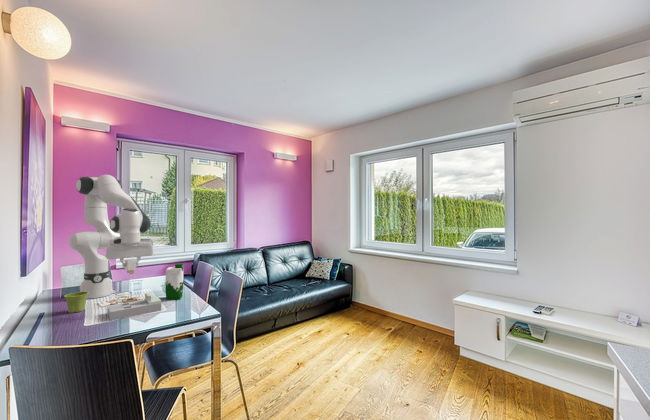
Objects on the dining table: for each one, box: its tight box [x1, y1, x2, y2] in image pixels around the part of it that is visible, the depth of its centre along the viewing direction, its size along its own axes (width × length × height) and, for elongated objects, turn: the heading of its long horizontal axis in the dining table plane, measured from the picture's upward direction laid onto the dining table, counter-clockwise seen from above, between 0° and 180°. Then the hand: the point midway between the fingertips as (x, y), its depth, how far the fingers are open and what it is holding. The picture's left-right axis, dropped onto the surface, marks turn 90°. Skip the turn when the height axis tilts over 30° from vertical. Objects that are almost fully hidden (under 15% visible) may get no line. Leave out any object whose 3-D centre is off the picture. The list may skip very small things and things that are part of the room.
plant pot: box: [63, 291, 89, 314], centre depth 144 cm, size 9×9×9 cm
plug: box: [124, 258, 137, 275], centre depth 147 cm, size 9×4×7 cm, turn 44°
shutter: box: [144, 292, 162, 304], centre depth 148 cm, size 10×6×4 cm, turn 43°
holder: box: [121, 297, 139, 304], centre depth 153 cm, size 12×6×2 cm, turn 43°
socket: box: [106, 299, 162, 322], centre depth 143 cm, size 12×21×4 cm, turn 133°
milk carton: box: [164, 263, 184, 301], centre depth 166 cm, size 9×9×20 cm
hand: (130, 266), depth 147 cm, fingers closed on plug, 4 cm apart
